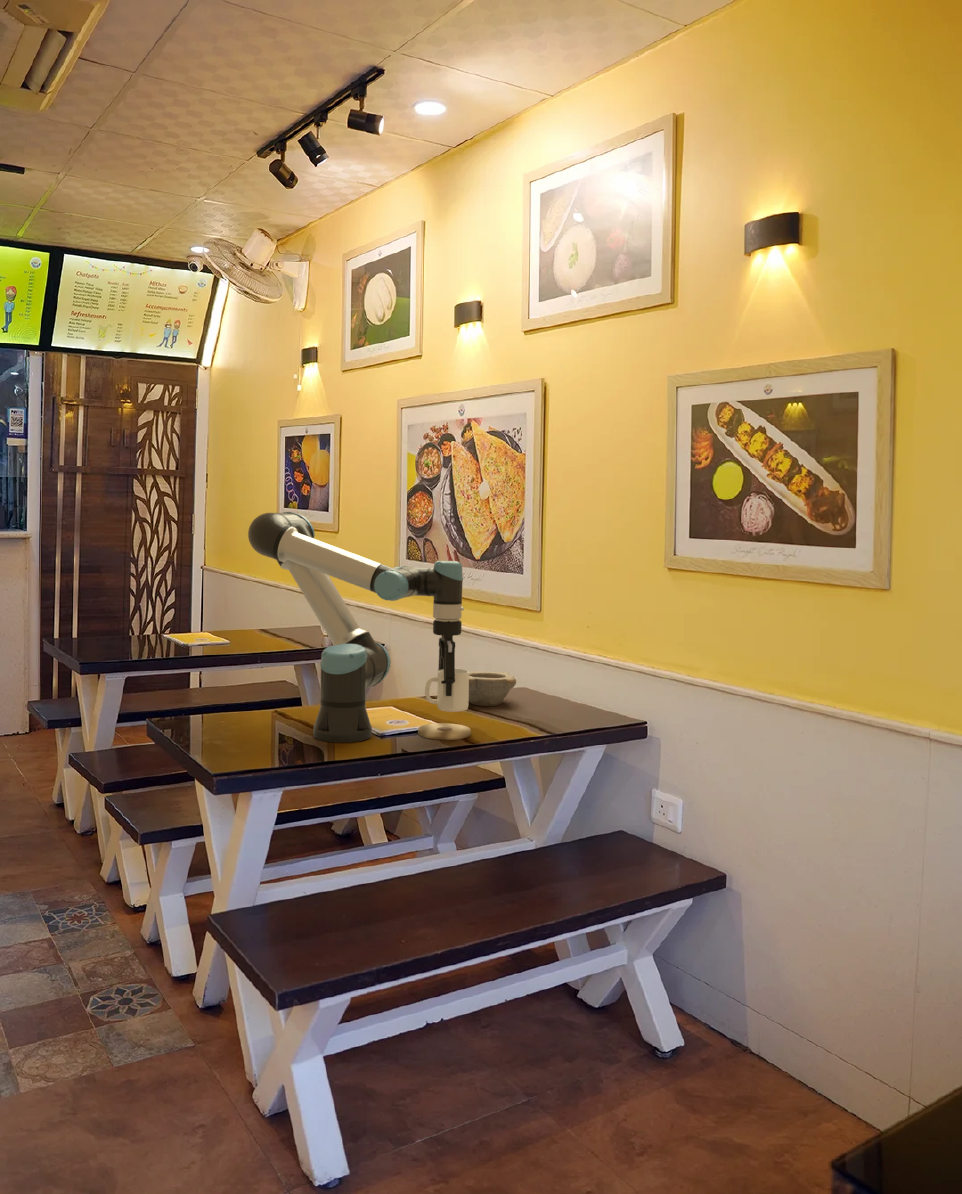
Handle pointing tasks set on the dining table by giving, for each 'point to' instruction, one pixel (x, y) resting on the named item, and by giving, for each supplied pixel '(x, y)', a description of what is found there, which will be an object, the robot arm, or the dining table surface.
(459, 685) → the cup
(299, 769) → the dining table surface
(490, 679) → the mortar
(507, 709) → the dining table surface
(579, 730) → the dining table surface
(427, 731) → the disc
